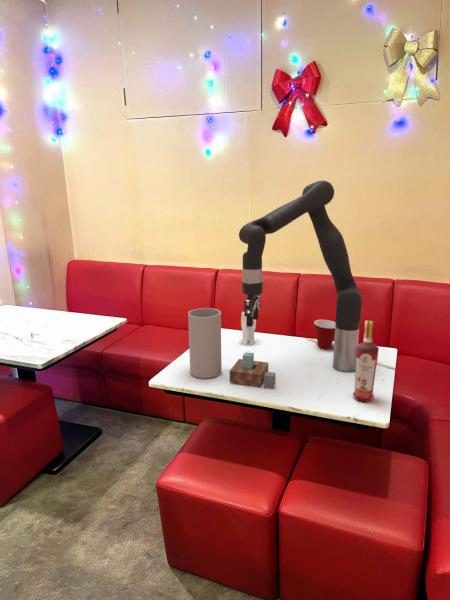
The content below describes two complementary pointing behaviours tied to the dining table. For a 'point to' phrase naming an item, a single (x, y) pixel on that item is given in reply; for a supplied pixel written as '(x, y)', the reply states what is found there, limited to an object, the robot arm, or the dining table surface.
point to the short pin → (269, 380)
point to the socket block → (248, 374)
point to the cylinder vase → (205, 342)
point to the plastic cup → (325, 333)
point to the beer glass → (247, 330)
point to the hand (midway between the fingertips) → (252, 322)
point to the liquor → (365, 365)
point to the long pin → (248, 361)
